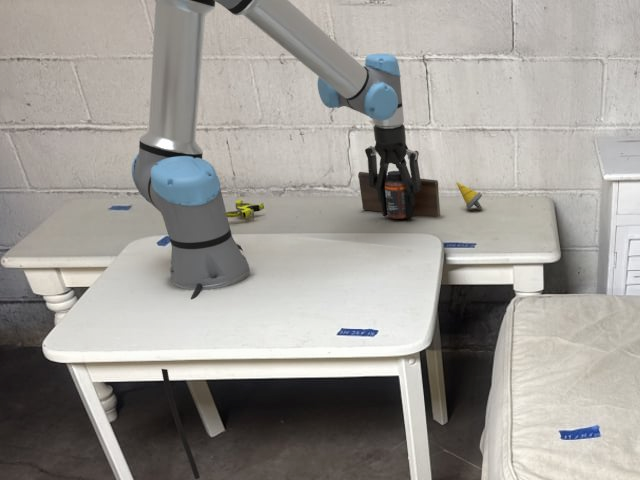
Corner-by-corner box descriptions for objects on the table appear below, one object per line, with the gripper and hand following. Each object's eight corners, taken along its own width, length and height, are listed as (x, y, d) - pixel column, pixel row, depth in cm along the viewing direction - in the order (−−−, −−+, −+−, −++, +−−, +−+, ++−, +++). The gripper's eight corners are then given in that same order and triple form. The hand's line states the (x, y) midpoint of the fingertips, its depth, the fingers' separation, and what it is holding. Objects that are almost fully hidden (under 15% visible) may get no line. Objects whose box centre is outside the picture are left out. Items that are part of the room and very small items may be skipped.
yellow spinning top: (476, 214, 195) (449, 187, 193) (475, 218, 200) (449, 191, 199) (490, 201, 195) (463, 173, 194) (488, 204, 201) (463, 177, 199)
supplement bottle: (412, 214, 193) (410, 170, 187) (407, 220, 187) (404, 175, 182) (390, 212, 193) (387, 169, 187) (384, 218, 188) (380, 174, 182)
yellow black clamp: (237, 196, 194) (264, 197, 194) (240, 211, 196) (266, 211, 196) (220, 208, 184) (248, 209, 184) (223, 223, 186) (251, 224, 186)
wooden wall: (437, 218, 193) (435, 181, 187) (362, 209, 197) (357, 173, 192) (440, 216, 194) (438, 179, 188) (366, 207, 199) (361, 170, 193)
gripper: (431, 123, 177) (437, 214, 191) (360, 117, 182) (372, 206, 195) (418, 132, 172) (426, 225, 185) (346, 125, 176) (358, 216, 189)
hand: (398, 215), depth 190 cm, fingers closed on supplement bottle, 6 cm apart
